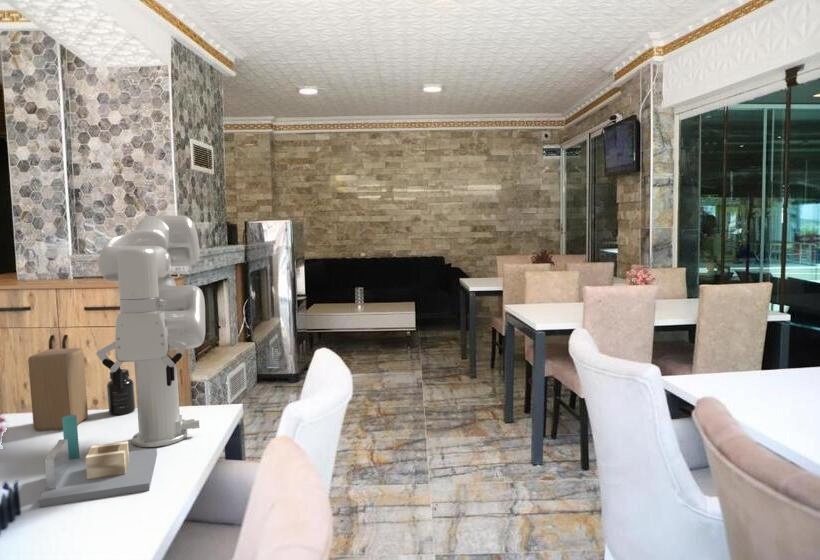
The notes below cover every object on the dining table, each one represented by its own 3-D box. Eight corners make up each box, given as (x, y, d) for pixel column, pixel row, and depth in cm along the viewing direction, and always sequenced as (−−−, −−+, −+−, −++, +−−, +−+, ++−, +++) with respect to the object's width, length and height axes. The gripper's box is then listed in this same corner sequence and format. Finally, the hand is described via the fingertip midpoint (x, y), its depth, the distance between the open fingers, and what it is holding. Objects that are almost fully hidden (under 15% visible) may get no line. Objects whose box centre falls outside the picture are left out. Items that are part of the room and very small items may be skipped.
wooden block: (52, 419, 163) (46, 348, 161) (89, 417, 164) (84, 347, 162) (32, 432, 153) (26, 356, 151) (72, 430, 154) (66, 355, 152)
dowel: (80, 456, 136) (77, 414, 135) (78, 461, 133) (75, 418, 132) (66, 458, 135) (63, 415, 134) (64, 463, 132) (60, 419, 131)
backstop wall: (69, 465, 126) (67, 438, 126) (56, 488, 115) (53, 459, 115) (61, 466, 126) (59, 439, 125) (47, 490, 115) (44, 460, 114)
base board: (157, 454, 136) (156, 448, 136) (149, 490, 117) (148, 483, 117) (63, 467, 130) (63, 460, 130) (39, 507, 111) (38, 499, 111)
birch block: (129, 461, 128) (127, 441, 128) (125, 473, 121) (123, 452, 121) (93, 466, 126) (91, 445, 125) (87, 479, 119) (85, 457, 119)
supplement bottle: (109, 410, 170) (106, 369, 169) (135, 407, 173) (133, 367, 172) (108, 417, 164) (105, 375, 163) (134, 413, 167) (132, 372, 166)
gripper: (185, 302, 129) (189, 378, 131) (97, 307, 124) (103, 386, 126) (183, 306, 122) (187, 386, 124) (90, 311, 117) (95, 395, 118)
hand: (145, 386), depth 125 cm, fingers open, 9 cm apart
